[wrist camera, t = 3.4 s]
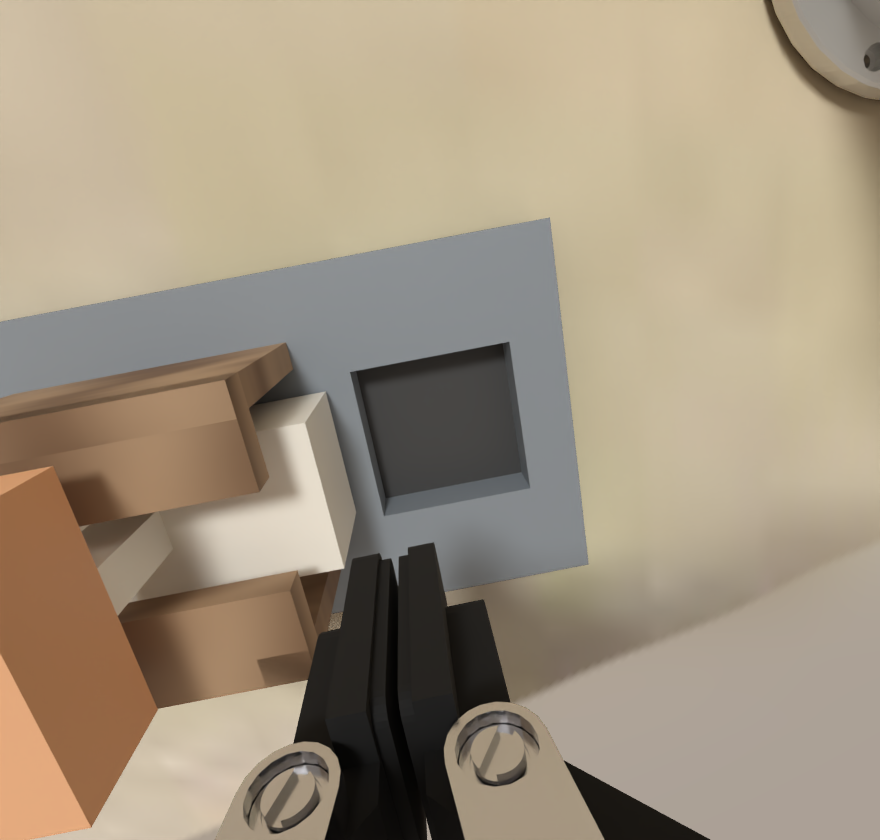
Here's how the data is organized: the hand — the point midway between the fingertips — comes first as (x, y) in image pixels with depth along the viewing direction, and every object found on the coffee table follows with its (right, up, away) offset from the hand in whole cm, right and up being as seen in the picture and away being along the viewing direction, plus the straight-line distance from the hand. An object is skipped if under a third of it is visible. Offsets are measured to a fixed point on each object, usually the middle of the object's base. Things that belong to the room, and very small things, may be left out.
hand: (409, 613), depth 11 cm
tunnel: (-9, +2, +10) cm, 13 cm away
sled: (-9, +2, +9) cm, 13 cm away
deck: (-9, +2, +11) cm, 15 cm away
